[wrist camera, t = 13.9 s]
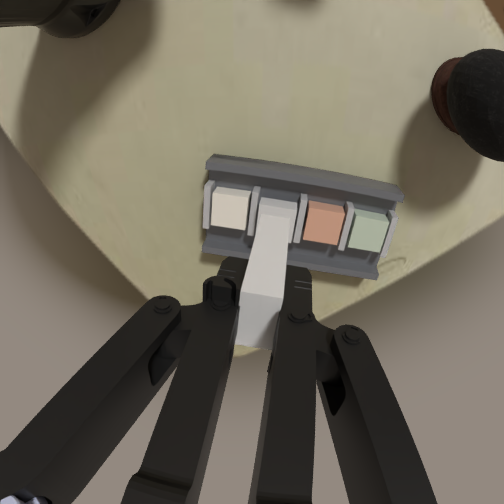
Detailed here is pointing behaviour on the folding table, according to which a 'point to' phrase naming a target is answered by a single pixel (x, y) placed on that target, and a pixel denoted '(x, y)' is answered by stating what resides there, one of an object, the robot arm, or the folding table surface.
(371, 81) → the folding table surface
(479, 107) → the black ball on stand
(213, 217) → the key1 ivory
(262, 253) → the robot arm
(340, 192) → the keypad board
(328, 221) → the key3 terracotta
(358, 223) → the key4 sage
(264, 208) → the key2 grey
